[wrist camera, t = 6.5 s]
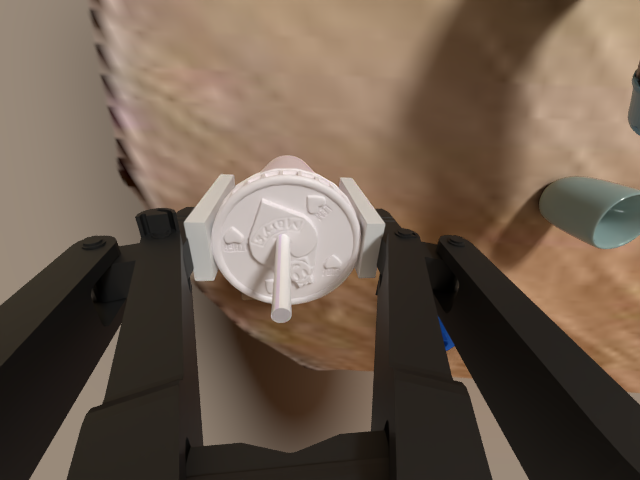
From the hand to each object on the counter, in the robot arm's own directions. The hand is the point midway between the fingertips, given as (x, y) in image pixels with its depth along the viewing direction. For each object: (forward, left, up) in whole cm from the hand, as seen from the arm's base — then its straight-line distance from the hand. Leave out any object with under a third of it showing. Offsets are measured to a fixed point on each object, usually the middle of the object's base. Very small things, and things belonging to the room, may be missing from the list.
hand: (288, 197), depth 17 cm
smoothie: (0, 0, -4) cm, 4 cm away
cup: (+6, +41, -20) cm, 46 cm away
